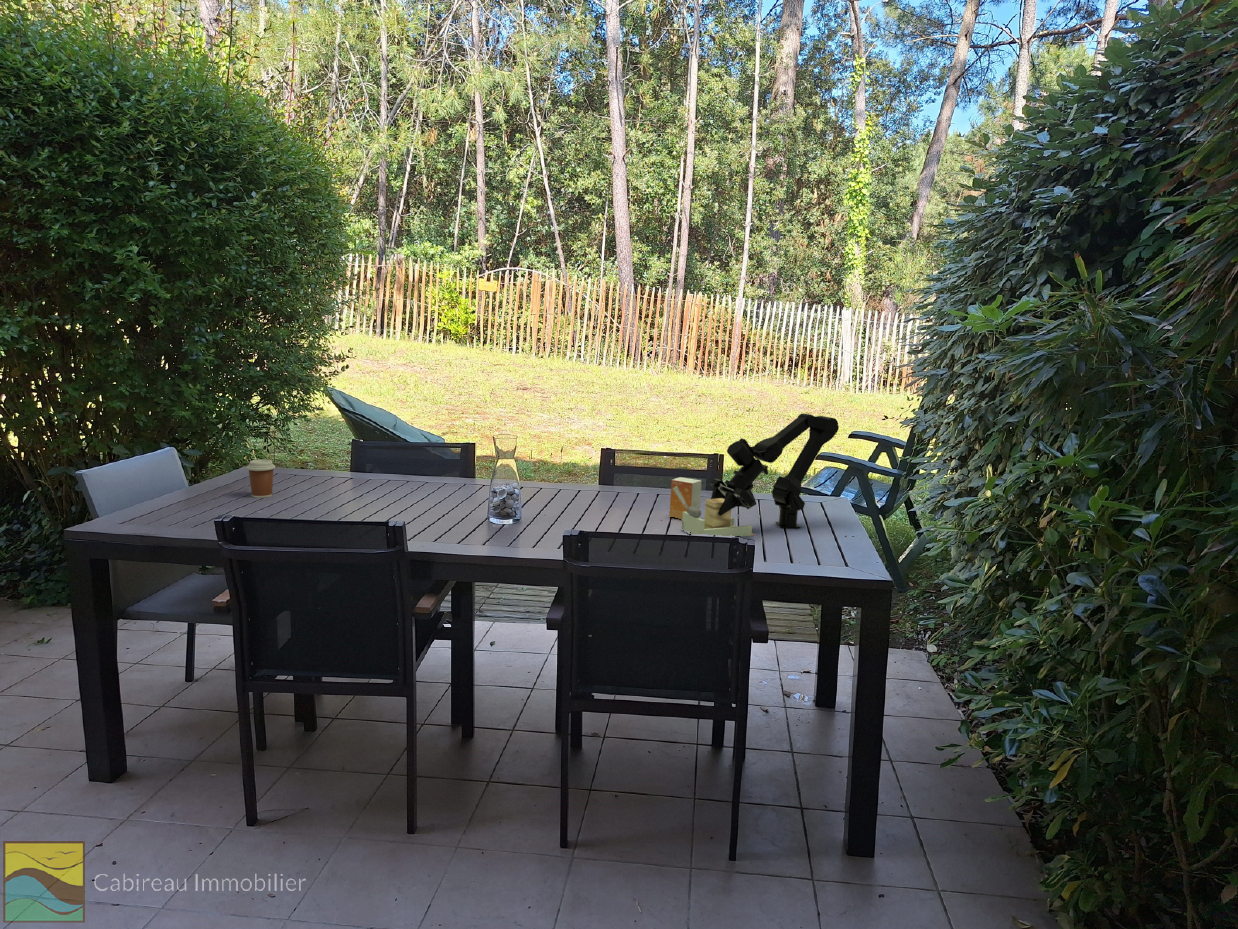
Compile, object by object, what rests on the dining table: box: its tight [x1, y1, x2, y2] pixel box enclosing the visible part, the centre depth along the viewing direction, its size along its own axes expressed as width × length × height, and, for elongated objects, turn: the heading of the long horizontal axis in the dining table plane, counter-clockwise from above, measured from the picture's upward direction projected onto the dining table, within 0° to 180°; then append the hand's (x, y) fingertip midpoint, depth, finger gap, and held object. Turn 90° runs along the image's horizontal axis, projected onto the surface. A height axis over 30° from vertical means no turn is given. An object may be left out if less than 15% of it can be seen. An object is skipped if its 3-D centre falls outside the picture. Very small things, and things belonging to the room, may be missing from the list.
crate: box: [704, 498, 732, 529], centre depth 273 cm, size 6×6×10 cm
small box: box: [669, 476, 702, 520], centre depth 290 cm, size 8×6×13 cm
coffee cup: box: [246, 458, 276, 499], centre depth 300 cm, size 9×9×12 cm
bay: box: [681, 506, 755, 538], centre depth 273 cm, size 19×12×8 cm, turn 114°
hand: (714, 512), depth 272 cm, fingers closed on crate, 6 cm apart
